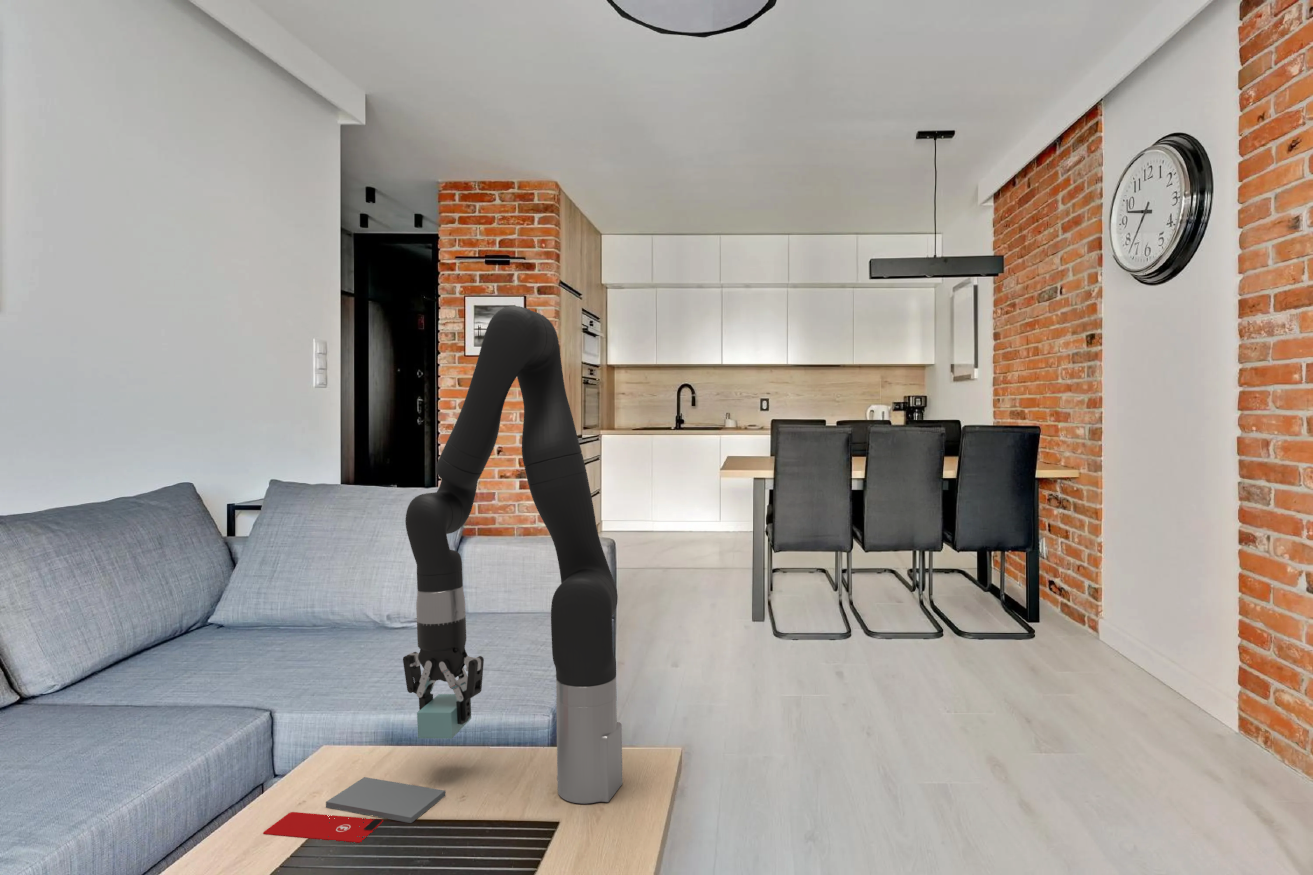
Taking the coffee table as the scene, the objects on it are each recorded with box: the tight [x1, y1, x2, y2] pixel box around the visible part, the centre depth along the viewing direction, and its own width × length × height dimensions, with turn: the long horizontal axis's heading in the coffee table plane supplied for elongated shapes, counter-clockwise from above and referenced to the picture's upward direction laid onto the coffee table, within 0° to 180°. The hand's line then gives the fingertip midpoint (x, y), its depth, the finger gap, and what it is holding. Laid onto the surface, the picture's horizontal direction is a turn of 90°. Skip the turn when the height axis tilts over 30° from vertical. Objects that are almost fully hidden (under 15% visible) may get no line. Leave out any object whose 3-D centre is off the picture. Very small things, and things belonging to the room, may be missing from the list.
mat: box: [325, 776, 446, 824], centre depth 104 cm, size 15×8×1 cm, turn 72°
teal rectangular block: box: [416, 693, 472, 740], centre depth 112 cm, size 6×8×4 cm
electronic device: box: [262, 811, 384, 844], centre depth 98 cm, size 6×1×15 cm
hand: (445, 720), depth 112 cm, fingers closed on teal rectangular block, 6 cm apart
